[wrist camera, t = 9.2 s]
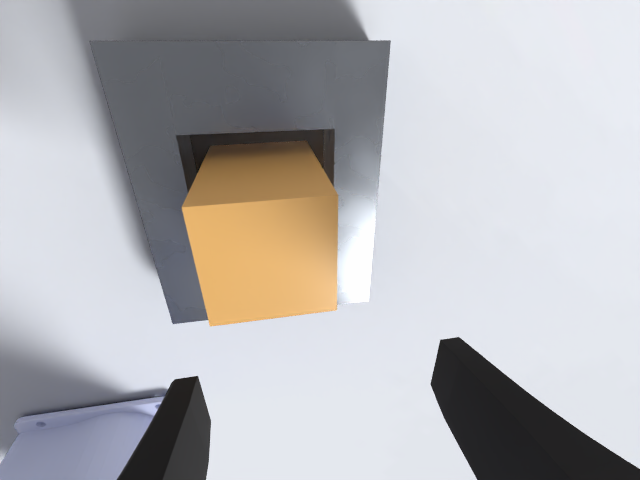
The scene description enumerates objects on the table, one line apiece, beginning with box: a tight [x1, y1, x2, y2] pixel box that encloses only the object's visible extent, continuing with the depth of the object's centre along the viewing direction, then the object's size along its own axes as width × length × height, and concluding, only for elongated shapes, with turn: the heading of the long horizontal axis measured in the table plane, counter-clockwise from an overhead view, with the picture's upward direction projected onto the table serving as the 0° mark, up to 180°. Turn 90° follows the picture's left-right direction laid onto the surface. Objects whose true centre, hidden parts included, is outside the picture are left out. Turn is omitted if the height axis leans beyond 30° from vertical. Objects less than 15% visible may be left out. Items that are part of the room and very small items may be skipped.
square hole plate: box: [90, 41, 391, 324], centre depth 15 cm, size 10×12×2 cm
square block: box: [182, 140, 338, 326], centre depth 14 cm, size 4×4×7 cm
